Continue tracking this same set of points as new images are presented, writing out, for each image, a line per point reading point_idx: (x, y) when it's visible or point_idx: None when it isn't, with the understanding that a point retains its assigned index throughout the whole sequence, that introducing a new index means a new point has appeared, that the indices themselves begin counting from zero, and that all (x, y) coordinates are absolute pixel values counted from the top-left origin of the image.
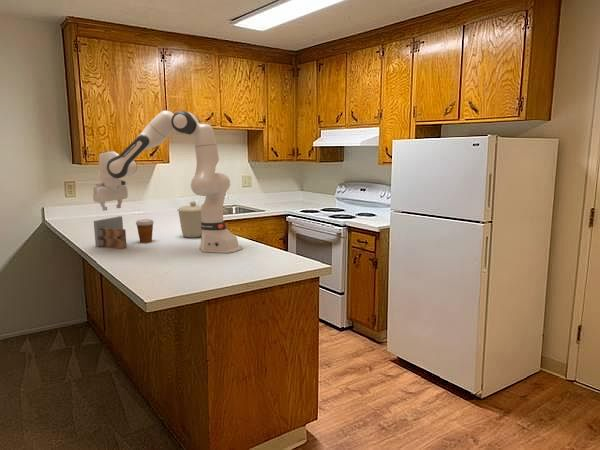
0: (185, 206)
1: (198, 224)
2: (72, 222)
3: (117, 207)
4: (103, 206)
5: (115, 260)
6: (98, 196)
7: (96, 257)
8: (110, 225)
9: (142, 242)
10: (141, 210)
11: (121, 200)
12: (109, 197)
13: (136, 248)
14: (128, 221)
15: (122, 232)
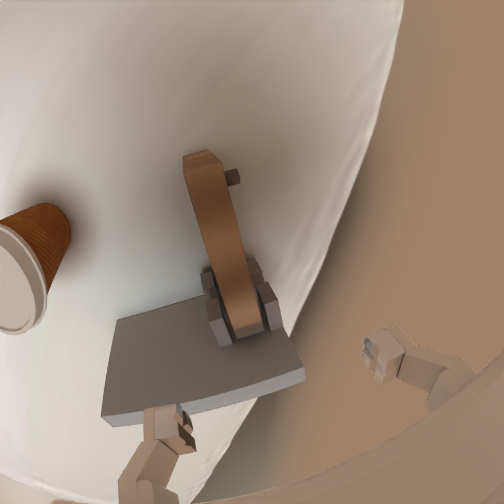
0: None
1: None
2: None
3: (185, 419)
4: (425, 356)
5: (353, 6)
6: None
7: (370, 104)
8: (187, 367)
9: (66, 219)
10: (39, 487)
11: (131, 493)
12: (435, 471)
13: (156, 106)
14: (61, 468)
15: (215, 160)
